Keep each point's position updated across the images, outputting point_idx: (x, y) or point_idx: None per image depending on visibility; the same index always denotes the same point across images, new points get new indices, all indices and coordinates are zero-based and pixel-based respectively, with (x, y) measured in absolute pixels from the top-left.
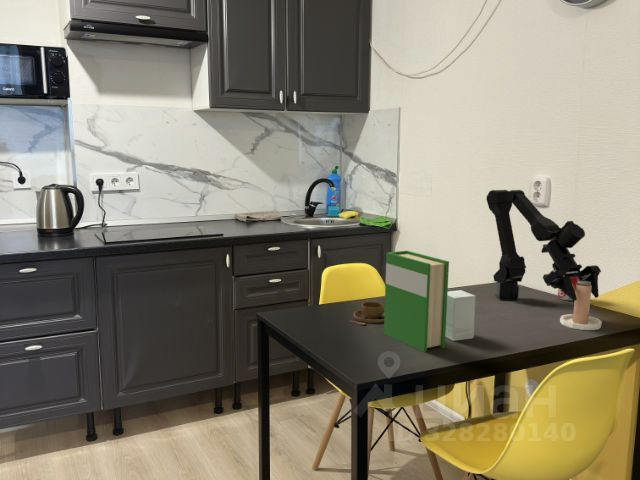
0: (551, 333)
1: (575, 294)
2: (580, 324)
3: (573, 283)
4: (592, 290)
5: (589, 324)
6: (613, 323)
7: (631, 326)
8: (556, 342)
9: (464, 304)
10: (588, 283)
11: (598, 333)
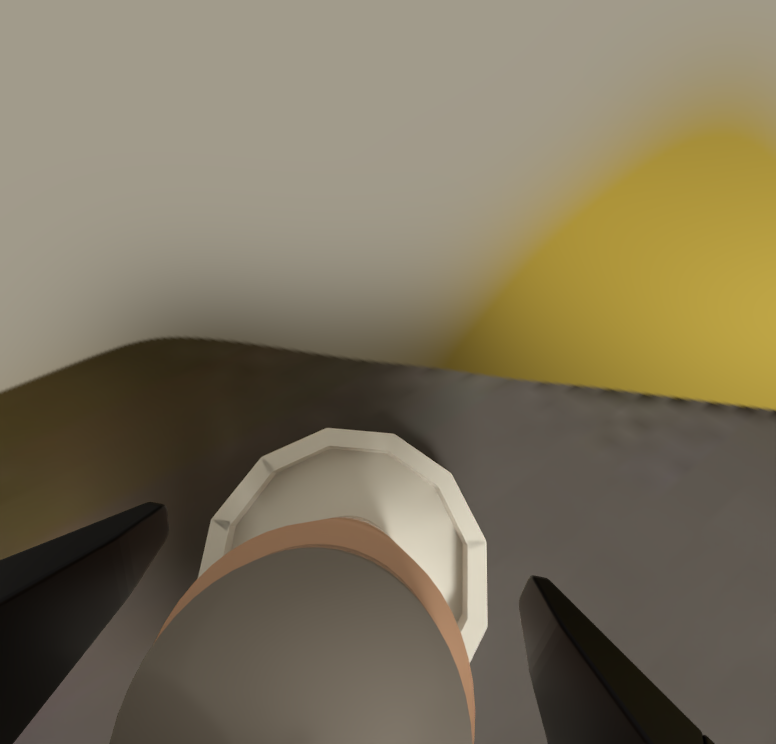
0: (675, 555)
1: (563, 617)
2: (453, 500)
3: None
4: (79, 627)
5: (338, 502)
6: (144, 448)
7: (130, 355)
8: (752, 438)
9: None
10: (351, 559)
11: (420, 394)
